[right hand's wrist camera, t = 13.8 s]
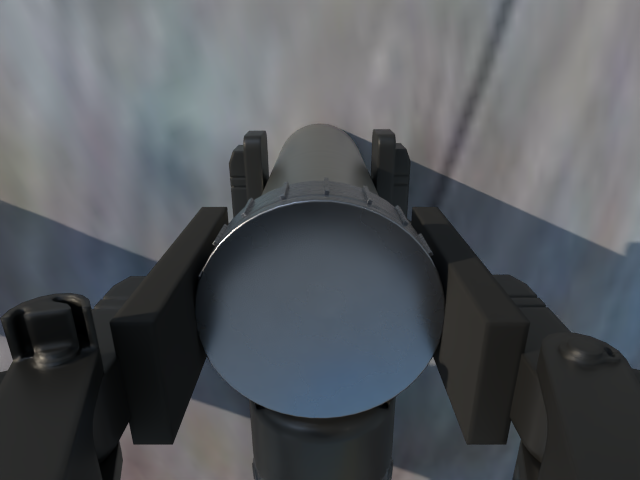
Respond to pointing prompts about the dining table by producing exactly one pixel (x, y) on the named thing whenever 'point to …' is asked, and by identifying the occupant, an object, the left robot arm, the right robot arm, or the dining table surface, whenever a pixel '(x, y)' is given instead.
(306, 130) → the jar
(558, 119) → the dining table surface
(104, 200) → the dining table surface
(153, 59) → the dining table surface
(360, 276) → the lid
